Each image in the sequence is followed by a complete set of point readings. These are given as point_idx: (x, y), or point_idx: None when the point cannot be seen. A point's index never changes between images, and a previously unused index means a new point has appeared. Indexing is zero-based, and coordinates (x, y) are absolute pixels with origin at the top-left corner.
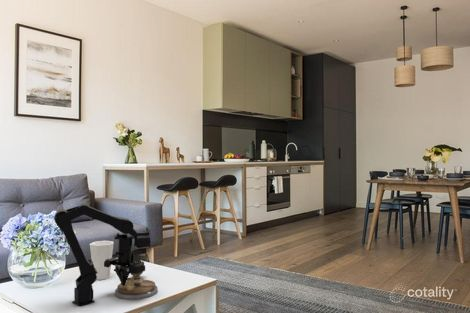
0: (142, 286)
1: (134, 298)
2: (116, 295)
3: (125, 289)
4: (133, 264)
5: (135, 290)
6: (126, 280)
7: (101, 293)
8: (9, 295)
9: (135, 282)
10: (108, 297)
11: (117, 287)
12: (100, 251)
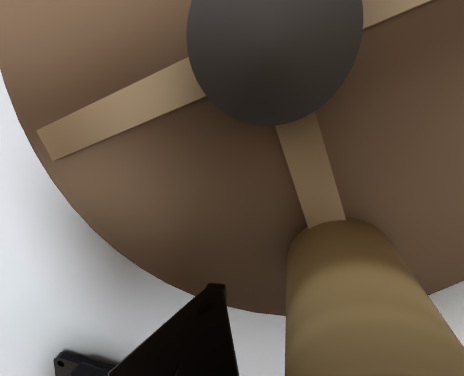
0: (444, 48)
1: None
2: None
3: (271, 282)
4: None
5: (443, 267)
6: (231, 343)
7: (37, 239)
8: None
9: (228, 25)
10: (152, 285)
11: (121, 249)
12: None
